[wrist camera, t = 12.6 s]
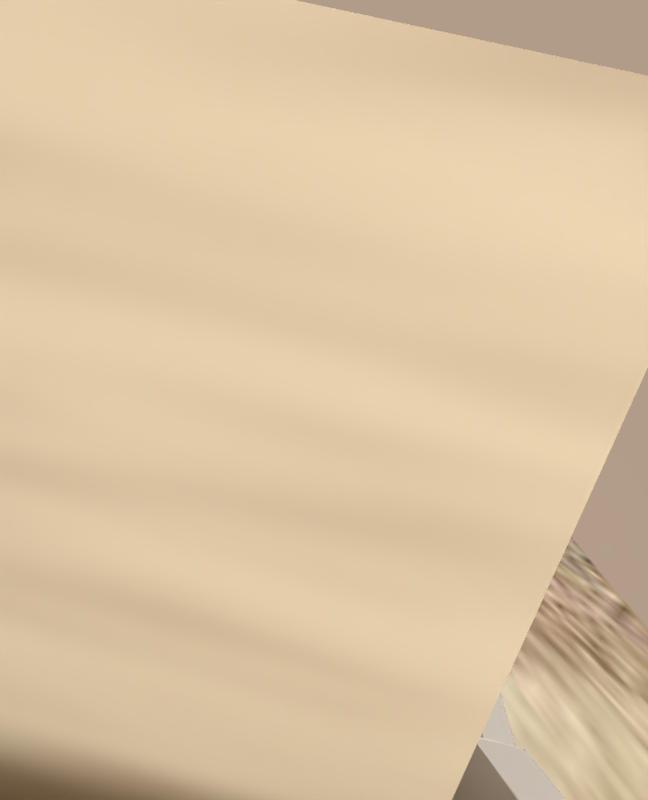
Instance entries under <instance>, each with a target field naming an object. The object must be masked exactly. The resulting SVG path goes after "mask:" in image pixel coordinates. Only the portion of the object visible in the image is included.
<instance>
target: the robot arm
mask: <svg viewBox="0 0 648 800" xmlns="http://www.w3.org/2000/svg"><path fill="white" fill-rule="evenodd" d="M452 800H566V799H565V798H564V796H563V795H562V794H561V793H560V791H559V790H558V789H557V788H556V787H555V785H554V784H553V783H552V782H551V781H550V779H549V778H548V777H547V776H546V774H545V773H544V772H543V771H542V770H541V768H540V767H539V766H538V765H537V763H536V762H535V761H534V760H533V759H532V757H531V756H530V755H529V754H528V752H527V751H526V750H525V749H521V748H518V747H516V745H515V742H514V738H513V735H512V732H511V728H510V725H509V721H508V718H507V714H506V711H505V707H504V704H503V700H502V697H501V694H500V695H499V697H498V699H497V701H496V704H495V706H494V708H493V710H492V712H491V715H490V717H489V719H488V721H487V723H486V726H485V728H484V730H483V732H482V734H481V737H480V739H479V741H478V743H477V745H476V748H475V750H474V752H473V754H472V757H471V759H470V761H469V763H468V765H467V768H466V770H465V772H464V774H463V776H462V779H461V781H460V783H459V785H458V787H457V790H456V792H455V794H454V796H453V798H452Z"/></svg>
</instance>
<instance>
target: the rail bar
mask: <svg viewBox="0 0 648 800" xmlns="http://www.w3.org/2000/svg"><path fill="white" fill-rule="evenodd" d="M647 368H648V76H646V75H642V74H637V73H632V72H628V71H623V70H618V69H614V68H609V67H604V66H600V65H595V64H590V63H585V62H581V61H576V60H571V59H567V58H562V57H558V56H553V55H548V54H544V53H539V52H534V51H530V50H525V49H520V48H516V47H511V46H506V45H502V44H496V43H492V42H488V41H483V40H478V39H474V38H469V37H464V36H460V35H455V34H450V33H446V32H441V31H436V30H431V29H427V28H422V27H418V26H412V25H408V24H404V23H398V22H394V21H389V20H385V19H380V18H376V17H371V16H366V15H361V14H357V13H352V12H347V11H343V10H338V9H333V8H329V7H324V6H319V5H315V4H310V3H305V2H301V1H296V0H0V800H452V798H453V796H454V794H455V792H456V790H457V787H458V785H459V783H460V781H461V779H462V776H463V774H464V772H465V770H466V768H467V765H468V763H469V761H470V759H471V757H472V754H473V752H474V750H475V748H476V745H477V743H478V741H479V739H480V737H481V734H482V732H483V730H484V728H485V726H486V723H487V721H488V719H489V717H490V715H491V712H492V710H493V708H494V706H495V704H496V701H497V699H498V697H499V695H500V692H501V690H502V688H503V686H504V684H505V681H506V679H507V677H508V675H509V673H510V670H511V668H512V666H513V664H514V662H515V659H516V657H517V655H518V653H519V650H520V648H521V646H522V644H523V642H524V639H525V637H526V635H527V633H528V631H529V628H530V626H531V624H532V622H533V620H534V617H535V615H536V613H537V611H538V609H539V606H540V604H541V602H542V600H543V597H544V595H545V593H546V591H547V589H548V586H549V584H550V582H551V580H552V578H553V575H554V573H555V571H556V569H557V567H558V564H559V562H560V560H561V558H562V556H563V553H564V551H565V549H566V547H567V544H568V542H569V540H570V538H571V536H572V533H573V531H574V529H575V527H576V525H577V522H578V520H579V518H580V516H581V514H582V511H583V509H584V507H585V505H586V503H587V500H588V498H589V496H590V494H591V491H592V489H593V487H594V485H595V483H596V480H597V478H598V476H599V474H600V472H601V469H602V467H603V465H604V463H605V461H606V458H607V456H608V454H609V451H610V449H611V447H612V445H613V443H614V441H615V438H616V436H617V434H618V432H619V429H620V427H621V425H622V423H623V420H624V418H625V416H626V414H627V412H628V410H629V407H630V405H631V403H632V401H633V399H634V396H635V394H636V392H637V390H638V387H639V385H640V383H641V381H642V379H643V377H644V374H645V372H646V370H647Z"/></svg>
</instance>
